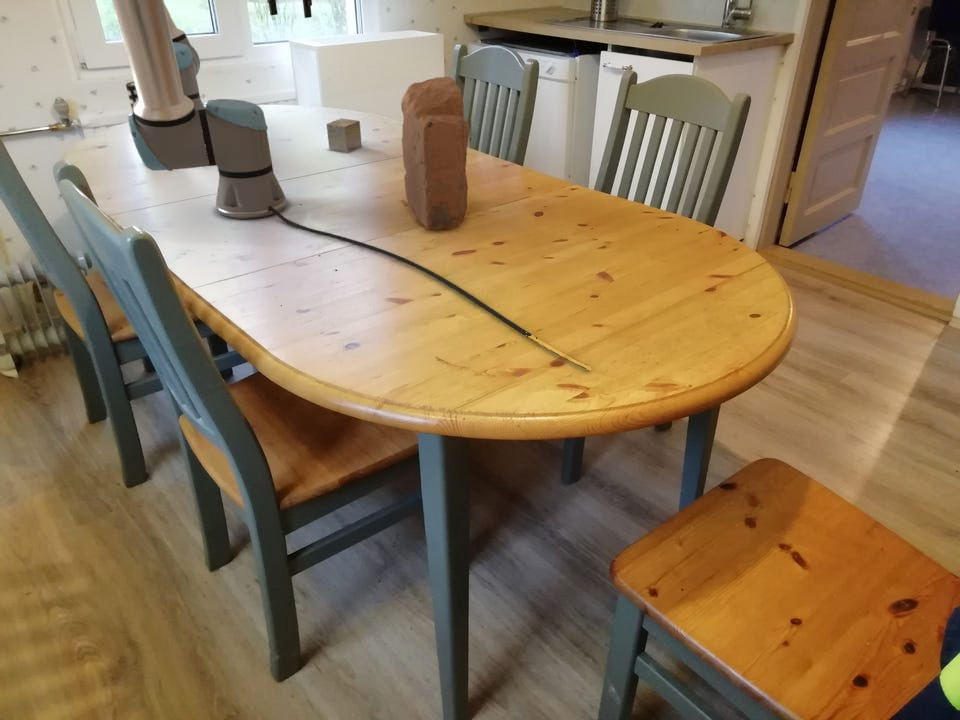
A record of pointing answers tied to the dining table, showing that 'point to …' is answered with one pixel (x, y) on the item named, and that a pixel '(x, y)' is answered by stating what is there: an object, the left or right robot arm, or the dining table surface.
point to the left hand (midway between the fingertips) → (291, 16)
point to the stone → (435, 152)
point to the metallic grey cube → (344, 135)
